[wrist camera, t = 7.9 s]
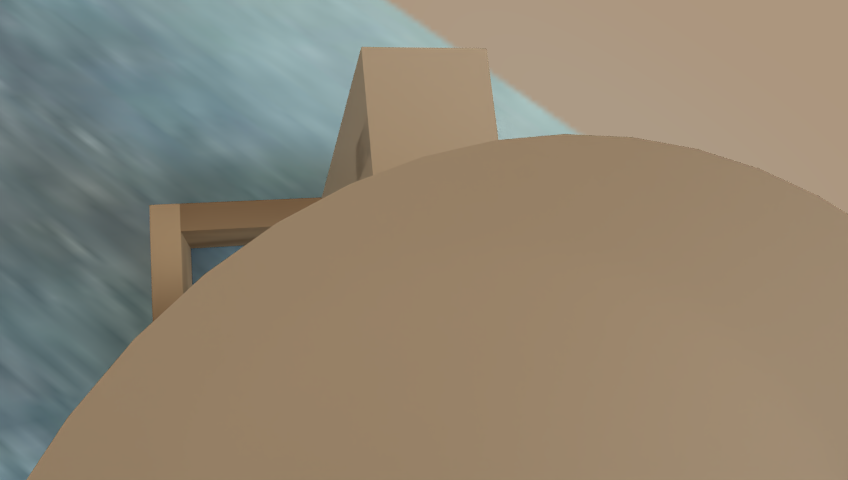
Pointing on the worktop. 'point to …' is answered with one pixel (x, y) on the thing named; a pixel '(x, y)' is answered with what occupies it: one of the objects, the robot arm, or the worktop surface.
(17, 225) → the worktop surface
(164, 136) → the worktop surface
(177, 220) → the holder
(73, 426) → the jug
